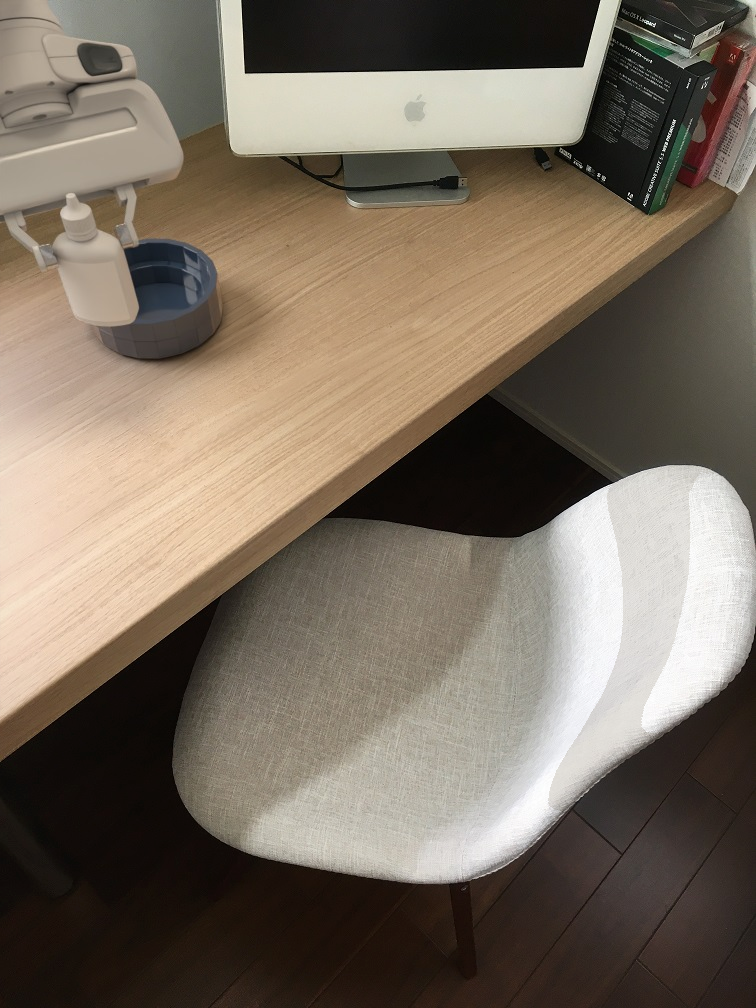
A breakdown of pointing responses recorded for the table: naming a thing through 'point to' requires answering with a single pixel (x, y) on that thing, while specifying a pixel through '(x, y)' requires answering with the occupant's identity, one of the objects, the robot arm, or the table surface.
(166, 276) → the bowl
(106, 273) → the eye dropper bottle
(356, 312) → the table surface
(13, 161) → the robot arm
